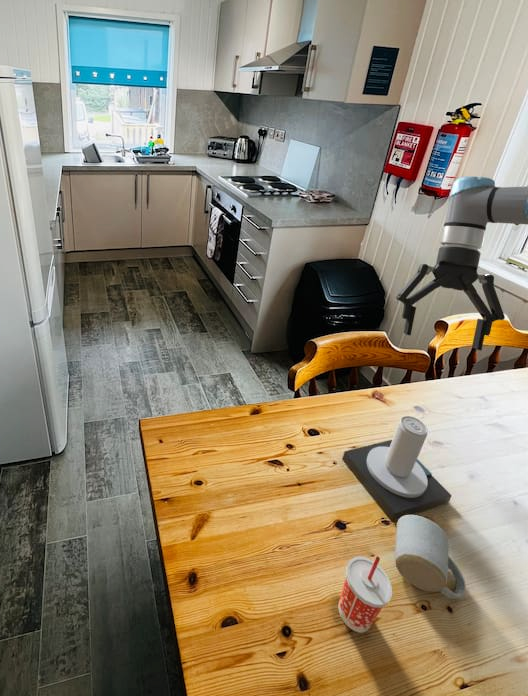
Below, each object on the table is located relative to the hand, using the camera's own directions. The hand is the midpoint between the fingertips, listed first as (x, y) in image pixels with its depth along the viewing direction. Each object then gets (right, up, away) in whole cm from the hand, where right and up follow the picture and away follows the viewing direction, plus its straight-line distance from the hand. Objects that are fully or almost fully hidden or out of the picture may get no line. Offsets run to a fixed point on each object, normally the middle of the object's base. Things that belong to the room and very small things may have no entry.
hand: (440, 341), depth 88 cm
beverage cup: (-32, -36, -27) cm, 56 cm away
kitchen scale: (-14, -28, -6) cm, 32 cm away
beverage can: (-14, -25, -7) cm, 29 cm away
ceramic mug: (-18, -34, -21) cm, 44 cm away
